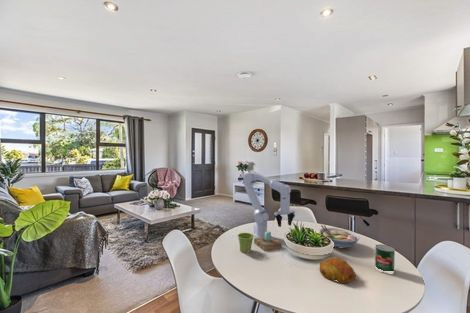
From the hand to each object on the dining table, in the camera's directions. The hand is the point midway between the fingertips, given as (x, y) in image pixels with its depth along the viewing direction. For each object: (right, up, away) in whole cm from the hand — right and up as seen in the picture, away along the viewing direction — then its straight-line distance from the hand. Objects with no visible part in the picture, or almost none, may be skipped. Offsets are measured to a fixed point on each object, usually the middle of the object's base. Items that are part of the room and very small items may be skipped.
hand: (284, 225), depth 143 cm
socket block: (-12, -10, -6) cm, 17 cm away
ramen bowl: (+32, -11, -4) cm, 34 cm away
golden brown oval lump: (+16, -12, -39) cm, 43 cm away
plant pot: (-25, -10, -14) cm, 31 cm away
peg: (-12, -10, -6) cm, 17 cm away
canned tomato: (+42, -12, -33) cm, 54 cm away
